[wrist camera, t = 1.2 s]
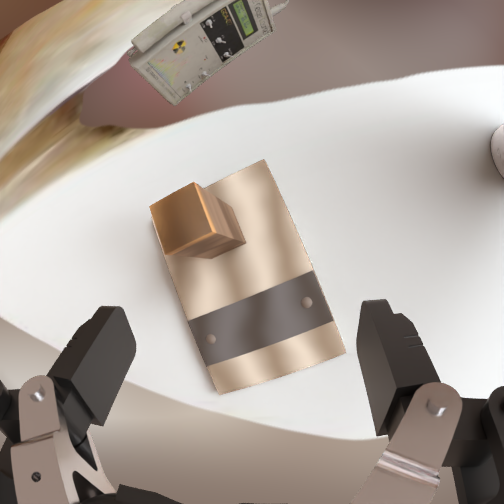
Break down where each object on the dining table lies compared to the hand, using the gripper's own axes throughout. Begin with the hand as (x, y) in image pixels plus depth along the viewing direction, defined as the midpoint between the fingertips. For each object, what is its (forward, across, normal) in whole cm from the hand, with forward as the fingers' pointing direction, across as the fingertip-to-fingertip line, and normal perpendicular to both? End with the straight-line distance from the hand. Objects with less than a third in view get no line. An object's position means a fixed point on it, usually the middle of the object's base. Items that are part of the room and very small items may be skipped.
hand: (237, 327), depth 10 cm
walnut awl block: (+25, +5, +7) cm, 27 cm away
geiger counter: (+41, +4, -16) cm, 44 cm away
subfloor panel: (+24, +3, +13) cm, 27 cm away
